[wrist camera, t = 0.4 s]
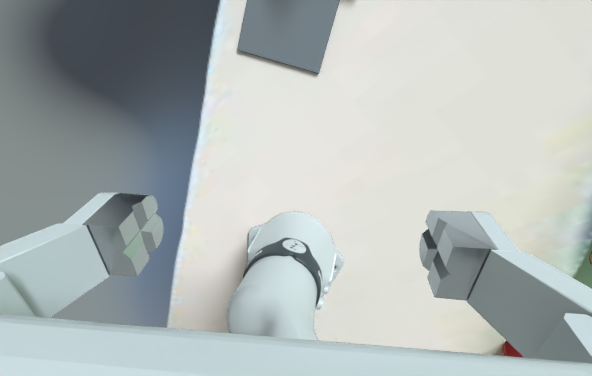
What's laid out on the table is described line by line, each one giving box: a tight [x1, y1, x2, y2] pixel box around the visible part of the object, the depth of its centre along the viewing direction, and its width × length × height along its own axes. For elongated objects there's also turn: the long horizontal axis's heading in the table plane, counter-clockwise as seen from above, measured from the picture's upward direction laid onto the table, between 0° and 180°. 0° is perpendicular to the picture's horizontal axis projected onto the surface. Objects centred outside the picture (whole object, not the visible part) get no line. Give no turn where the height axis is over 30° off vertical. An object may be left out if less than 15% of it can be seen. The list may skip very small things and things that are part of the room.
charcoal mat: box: [237, 0, 340, 73], centre depth 48 cm, size 12×14×1 cm
